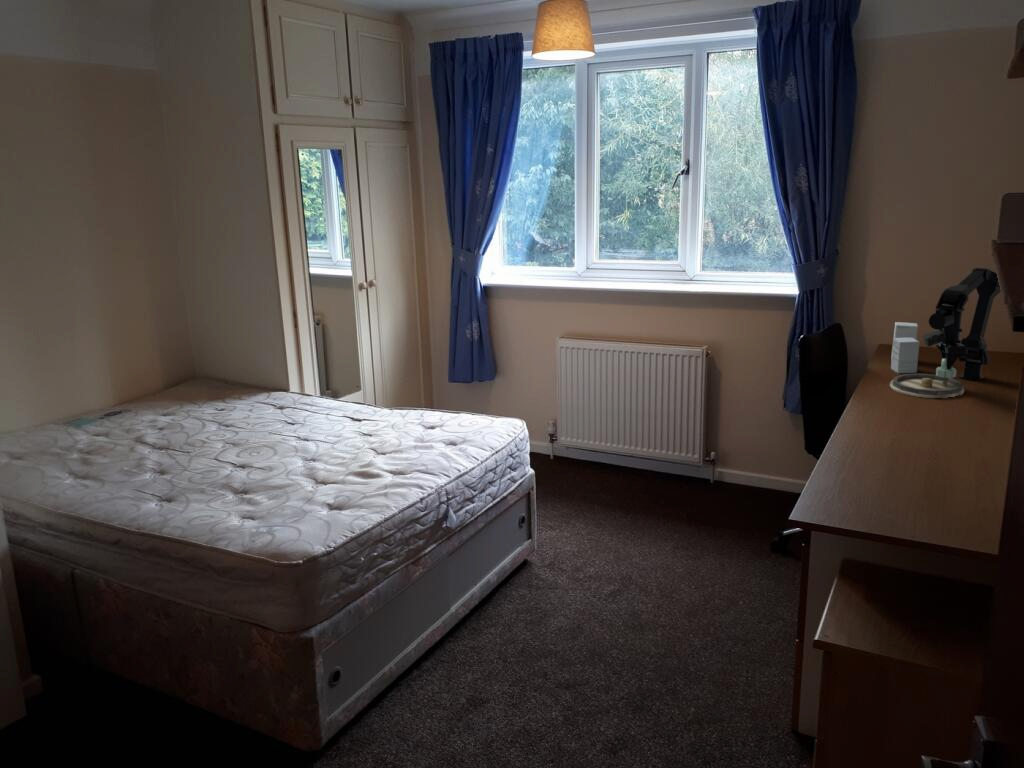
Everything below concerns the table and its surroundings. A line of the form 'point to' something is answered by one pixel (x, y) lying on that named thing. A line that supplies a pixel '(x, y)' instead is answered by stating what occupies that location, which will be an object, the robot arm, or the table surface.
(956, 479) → the table surface
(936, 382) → the carrier plate
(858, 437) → the table surface
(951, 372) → the pale green domed piece
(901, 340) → the supplement box
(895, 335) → the skincare box
